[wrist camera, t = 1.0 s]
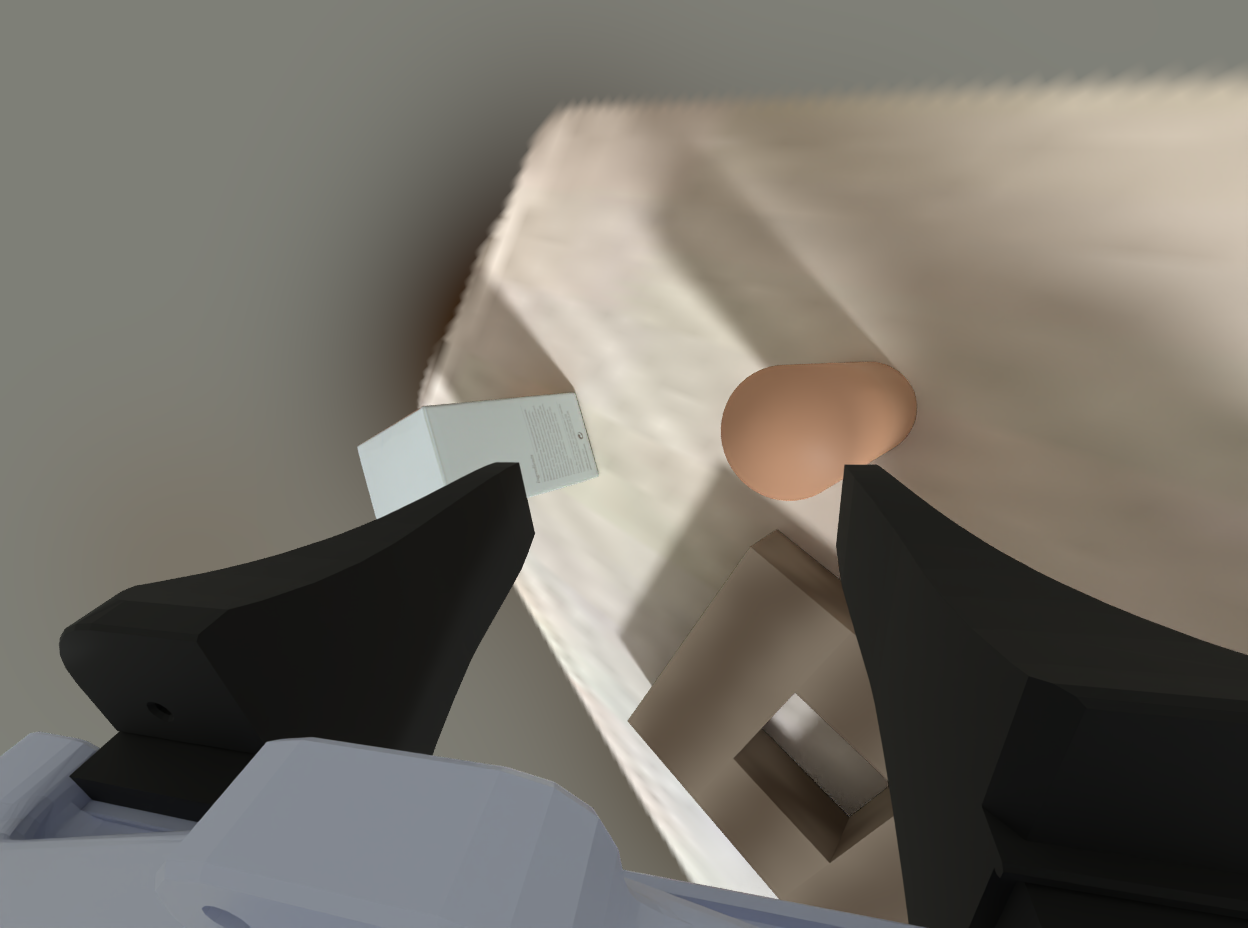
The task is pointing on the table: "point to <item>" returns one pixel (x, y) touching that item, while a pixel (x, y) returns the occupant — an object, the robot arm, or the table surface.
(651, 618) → the table surface
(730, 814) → the socket block
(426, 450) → the small box
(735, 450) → the peg
